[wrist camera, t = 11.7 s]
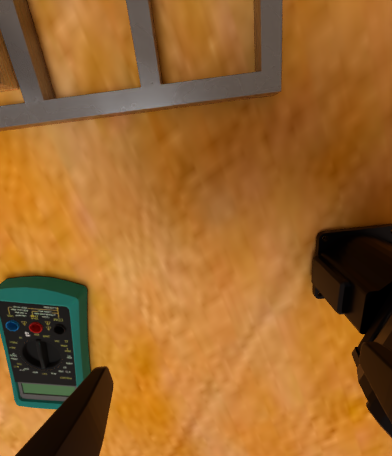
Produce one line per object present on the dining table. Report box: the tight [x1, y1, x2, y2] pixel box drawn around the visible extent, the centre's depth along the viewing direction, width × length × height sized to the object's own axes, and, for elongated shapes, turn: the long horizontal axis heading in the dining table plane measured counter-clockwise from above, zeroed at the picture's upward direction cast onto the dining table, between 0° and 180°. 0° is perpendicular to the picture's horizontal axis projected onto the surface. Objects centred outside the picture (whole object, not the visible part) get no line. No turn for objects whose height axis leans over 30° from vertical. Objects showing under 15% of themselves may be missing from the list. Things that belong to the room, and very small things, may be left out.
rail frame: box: [0, 0, 282, 131], centre depth 14 cm, size 23×10×2 cm, turn 97°
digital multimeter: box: [0, 276, 91, 409], centre depth 22 cm, size 7×15×3 cm, turn 173°
